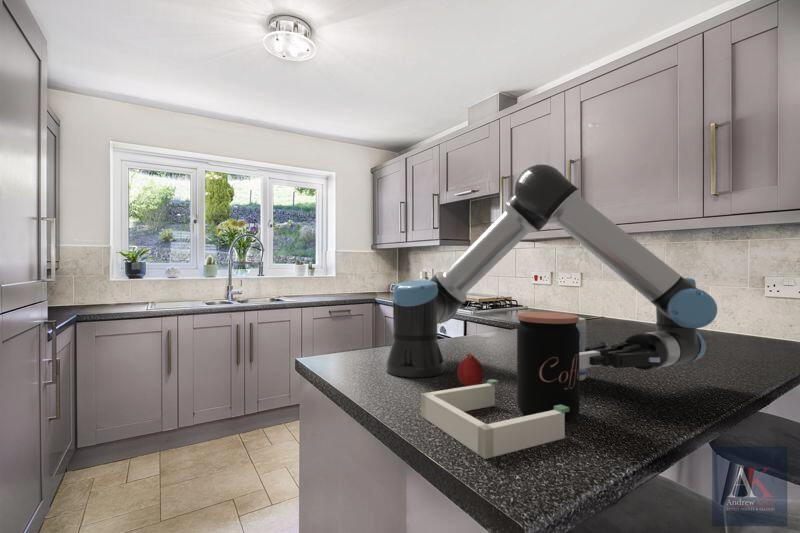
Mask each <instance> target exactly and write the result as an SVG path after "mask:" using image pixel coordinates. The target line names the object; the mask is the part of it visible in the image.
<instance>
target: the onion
mask: <svg viewBox="0 0 800 533" xmlns="http://www.w3.org/2000/svg"><path fill="white" fill-rule="evenodd" d="M456 373H457V378H458V381H459V382H460V383H461V384H462V385H463V386H464V387H467V386H473V385H480V384H481V383H483V380H484V377H485V370H484V367H483V365H482V364H481V362H480V361H479V360H478V359H477V358H476V357H474V354H472V353H470V352H469V353H467V354H466V357H465V358H464V359H462V360H461V361H460V363H459V364H458V366H457V371H456Z"/></svg>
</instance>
